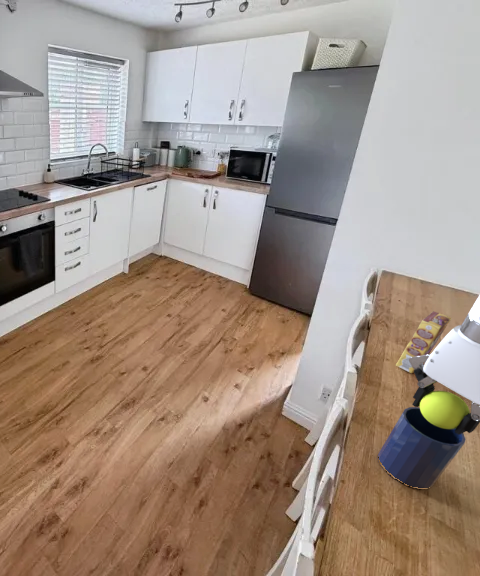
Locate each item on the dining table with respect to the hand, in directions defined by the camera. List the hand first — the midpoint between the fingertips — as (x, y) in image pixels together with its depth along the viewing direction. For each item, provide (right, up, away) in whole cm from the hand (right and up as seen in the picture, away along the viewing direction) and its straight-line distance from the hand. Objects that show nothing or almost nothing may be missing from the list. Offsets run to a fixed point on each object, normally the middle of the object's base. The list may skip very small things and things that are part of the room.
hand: (439, 416), depth 65 cm
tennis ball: (0, -1, +1) cm, 1 cm away
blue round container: (-1, -13, +7) cm, 14 cm away
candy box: (+26, +1, +36) cm, 44 cm away
